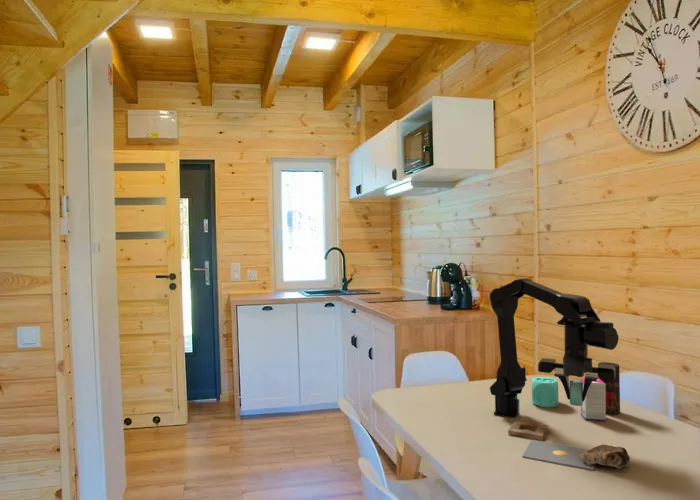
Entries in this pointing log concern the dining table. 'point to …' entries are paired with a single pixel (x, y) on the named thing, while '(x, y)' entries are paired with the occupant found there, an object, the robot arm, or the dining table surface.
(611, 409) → the deodorant
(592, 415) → the supplement box
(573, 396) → the peg
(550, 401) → the decorative dice
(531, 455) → the card
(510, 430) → the brown square frame
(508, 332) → the robot arm
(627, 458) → the rock
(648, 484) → the dining table surface
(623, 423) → the dining table surface
